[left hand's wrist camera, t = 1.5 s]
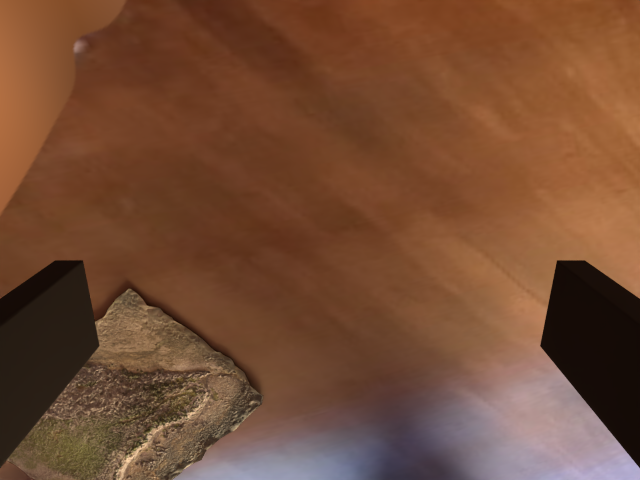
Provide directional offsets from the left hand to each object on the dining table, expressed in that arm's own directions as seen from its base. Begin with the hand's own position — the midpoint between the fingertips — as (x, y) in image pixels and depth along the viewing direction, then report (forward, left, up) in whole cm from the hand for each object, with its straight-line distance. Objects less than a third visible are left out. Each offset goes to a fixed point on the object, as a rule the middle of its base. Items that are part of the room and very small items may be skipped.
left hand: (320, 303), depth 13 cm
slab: (-29, +21, -28) cm, 46 cm away
